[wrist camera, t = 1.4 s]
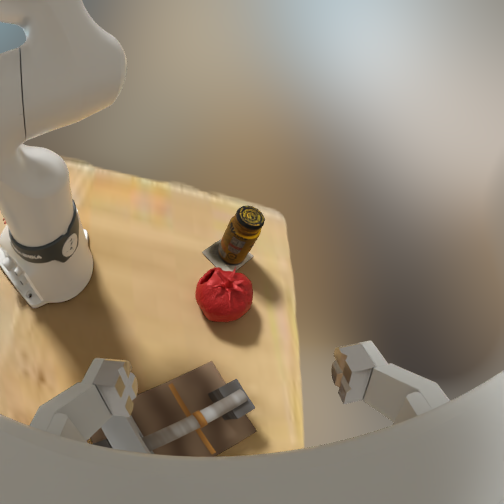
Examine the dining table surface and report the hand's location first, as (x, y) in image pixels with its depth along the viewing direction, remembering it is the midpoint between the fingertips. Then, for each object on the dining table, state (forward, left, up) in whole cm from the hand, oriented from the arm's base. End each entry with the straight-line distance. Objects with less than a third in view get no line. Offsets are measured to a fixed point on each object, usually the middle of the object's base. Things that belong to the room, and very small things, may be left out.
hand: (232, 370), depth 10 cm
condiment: (-1, +33, -35) cm, 48 cm away
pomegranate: (+1, +22, -35) cm, 41 cm away
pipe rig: (+1, -3, -35) cm, 35 cm away
